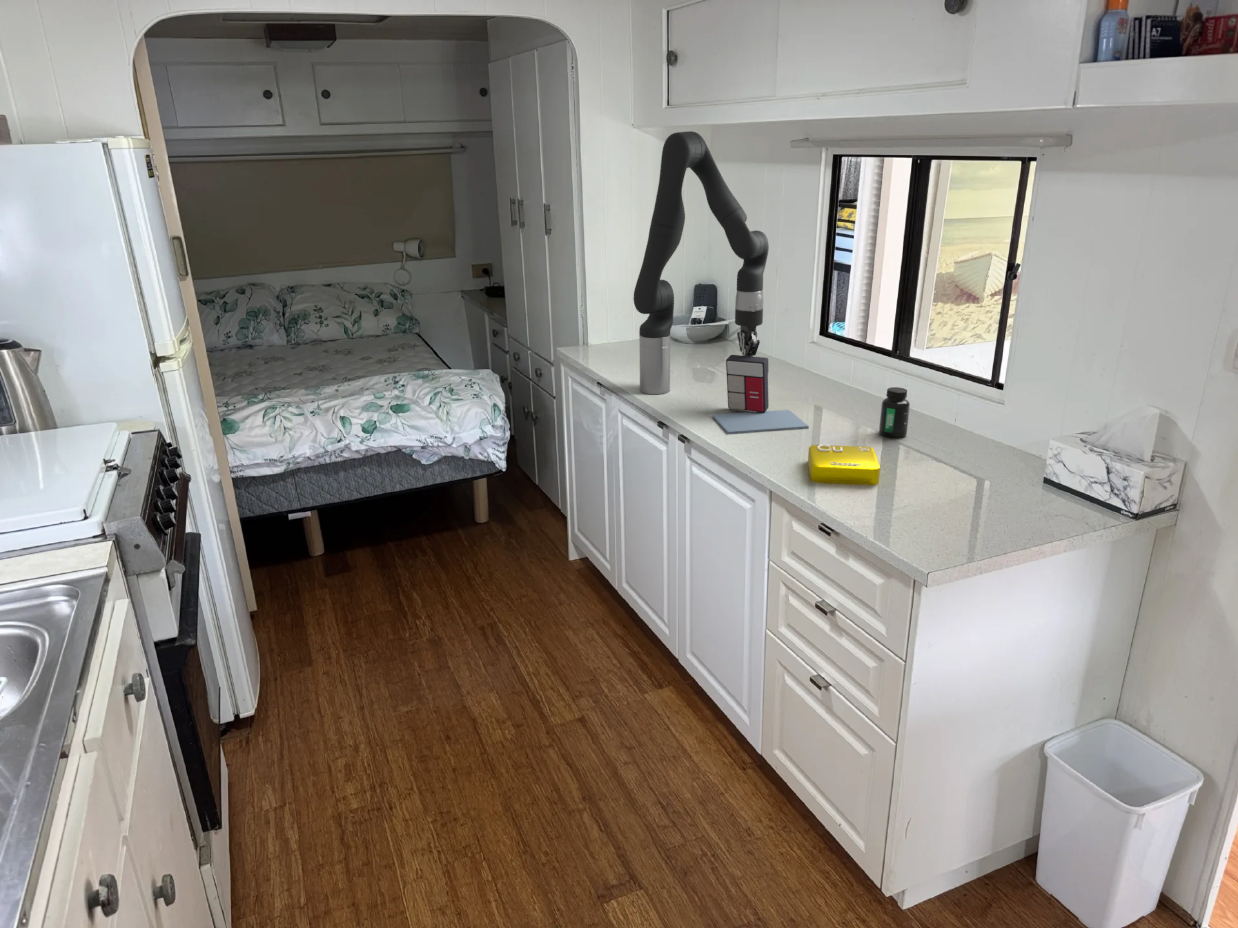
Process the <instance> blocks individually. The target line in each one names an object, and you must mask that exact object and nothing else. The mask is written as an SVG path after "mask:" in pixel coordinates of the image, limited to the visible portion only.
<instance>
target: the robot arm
mask: <svg viewBox="0 0 1238 928" xmlns="http://www.w3.org/2000/svg"><path fill="white" fill-rule="evenodd" d="M689 168H690V170H692V172H693V174H695V175H696V177H697V178H698V179H699V181H700V184H702V187H703V190H704V193H705V196H706V201H707V204H708V207H709V209H710V211H711V213H712V214H713V217H715V219H716V221H717V222H718V223H719V225H720V226H721V227H722V228H723V231H724V234H725V236H726V239H727V241H728V243H729V246H730V248H731V250H732V252H733V253H734V254H735V255H736V256H737V257H738V258H739V259H741V260H743V263H742V266H741V268H739V270H738V271H737V274H736V275H737V276H736V291H735V292H736V294H735V299H734V300H735V302H734V303H735V306H734V308H735V309H734V324H735V325H737V326H740V328H739V331H737V333H736V335H737V336H736V337H737V340H738V345H739V346H738V347H739V351H740V353H741V356H753V357H756V354H757V352H758V348H759V346H760V343H761V342H760V339H757V338H758V331H757V327H758V326H761V325H762V324H763V323H764V322H763V320H764V319H763V318H764V291H763V289H764V272H765V270H766V266H767V265H766V264H767V260H768V255H769V245H770V243H769V239H768V237H767V235H766V234H765V233H764V232H763V231H761V230H750V229H749V227H748V225H747V223H746V222H747V218H748V215H747V214H746V212H745V210H744V209H743V207H742V206H741V204H740V203H739V201H738V200H737V198H736V197H735V196H734V195H733V193H732V191H731V190H730V188H729V186H728V185H727V183H726V181H725V180H724V178H723V176H722V174H721V172H720V169H719V168H718V166H717V164H716V162H715V160H714V157H713V156H712V154H711V151H710V149H709V147H708V145H707V143H706V141H705V140H704V138H703V137H702V135H701V134H700V133H699V132H696V131H680V132H679V131H677V132H674V133H672V134H670V135H669V136H667V138H666V139H665V141H664V143H663V147H662V151H661V160H660V171H659V180H658V184H657V185H658V186H657V192H656V196H655V201H654V202H655V203H654V207H653V212H652V216H651V219H650V220H651V221H650V226H649V232H648V237H647V241H646V248H645V251H644V256H643V260H642V265H641V267H640V270H639V274H638V276H637V277H638V278H637V281H636V284H635V287H634V290H633V304H634V307H635V309H636V311H637V312H638V313H640V314H641V315H648V317H647V318H646V319H645V321H644V322H642V323H641V324H640V326H639V331H638V333H639V334H638V335H639V391H640V392H641V393H643V394H646V395H661V394H666V393H669V392H670V391H671V329H672V327H673V324H674V308H675V293H674V289H673V287H672V285H671V284H670V282H669V281H667V280H665V279H662V278H661V277H662V273H663V271H664V269H665V267H666V265H667V264H668V262H669V261H670V259H672V256H673V254H675V252H676V251H677V249H678V247H679V245H680V242H681V239H682V236H683V233H684V227H685V222H686V213H685V207H684V206H685V205H684V201H683V192H682V191H683V185H684V180H685V176H686V172H687V170H688V169H689Z"/></svg>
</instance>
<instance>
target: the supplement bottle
mask: <svg viewBox="0 0 1238 928" xmlns="http://www.w3.org/2000/svg"><path fill="white" fill-rule="evenodd" d="M885 395H886V398H884V399H883V400H882V401H881V405H880V417H879V418H880V419H879V428H878V433H879V435H880V436H882V437H883V438H887V439H895V440H897V439H903V438H905V437H906V436H907V434H908V433H907V432H908V426H909V418H910V417H909V416H910V410H911V409H910V407H911V404H910V402H909V400H908V399H907V398H908V390H907V389H906V388H903V387H897V386H896V387H894V386H893V387H889V388H887V389H886V394H885Z"/></svg>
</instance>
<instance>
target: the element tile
mask: <svg viewBox="0 0 1238 928" xmlns="http://www.w3.org/2000/svg"><path fill="white" fill-rule="evenodd" d="M807 453H808V457H807V467H808V474H809V481H811V482H813V483H815V482H816V483H815V484H827V483H828V484H829V485H850V486H852V485H853V486H877V485H879V483H880V474H881V465H880V462H879V460H878V457H877V453H876V451H875V449H874V448H873V447H871V446H859V445H856V446H855V445H854V446H853V445H829V444H811V445H810V446H809V447H808V452H807ZM828 484H827V485H828Z"/></svg>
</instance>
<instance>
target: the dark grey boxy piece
mask: <svg viewBox="0 0 1238 928" xmlns="http://www.w3.org/2000/svg"><path fill="white" fill-rule="evenodd" d="M725 368H726V372H725V373H726V388H727V389H726V390H727V406H728V407H727V408H728V409H729V410H736V411H737V410H739V411H747V412H763V413H764V412H766V411H768V410H769V405H770V404H769V358H768V357H764V356H763V357H761V356H744V355H742V354H739V355H738V354H731V355H729V356H728V357H727V358H726V360H725Z"/></svg>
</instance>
